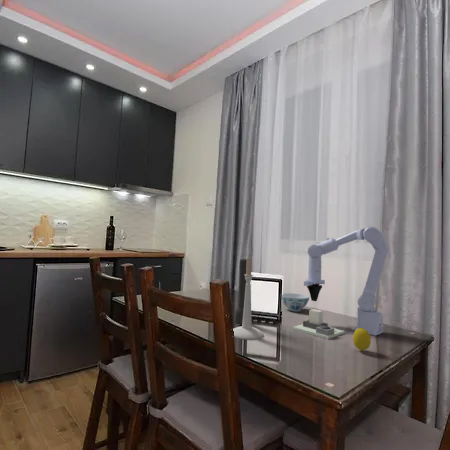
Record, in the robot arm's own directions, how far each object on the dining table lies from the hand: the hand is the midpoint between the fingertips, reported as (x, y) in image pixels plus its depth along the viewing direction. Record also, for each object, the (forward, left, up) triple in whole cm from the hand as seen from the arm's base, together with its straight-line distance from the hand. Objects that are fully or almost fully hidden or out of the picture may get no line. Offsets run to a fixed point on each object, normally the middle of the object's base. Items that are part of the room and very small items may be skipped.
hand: (314, 300), depth 142 cm
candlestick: (+5, +39, -10) cm, 41 cm away
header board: (-9, +11, -10) cm, 17 cm away
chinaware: (+21, -15, -10) cm, 28 cm away
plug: (-7, +10, -9) cm, 15 cm away
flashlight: (+17, +29, -10) cm, 35 cm away
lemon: (-31, +20, -10) cm, 38 cm away
